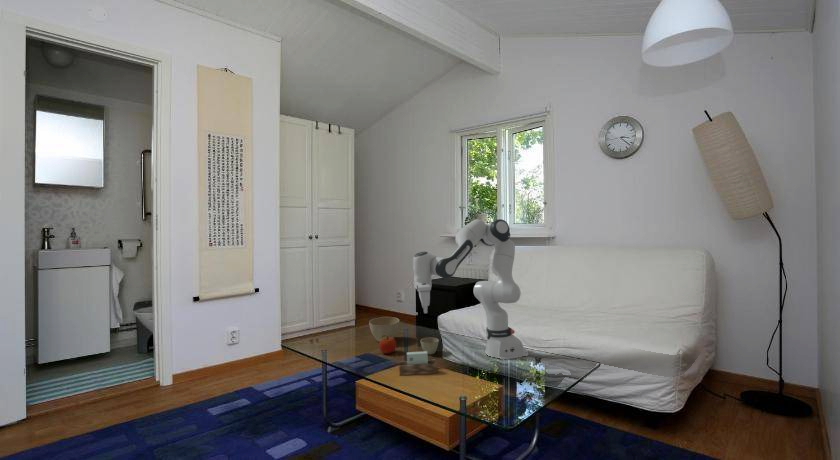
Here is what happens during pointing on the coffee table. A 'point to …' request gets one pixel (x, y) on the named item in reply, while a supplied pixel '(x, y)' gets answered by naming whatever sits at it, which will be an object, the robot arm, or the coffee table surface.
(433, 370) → the brown flat wooden block
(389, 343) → the fruit
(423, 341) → the bowl
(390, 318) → the large beige bowl
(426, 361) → the pale mint flat box
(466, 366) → the coffee table surface
